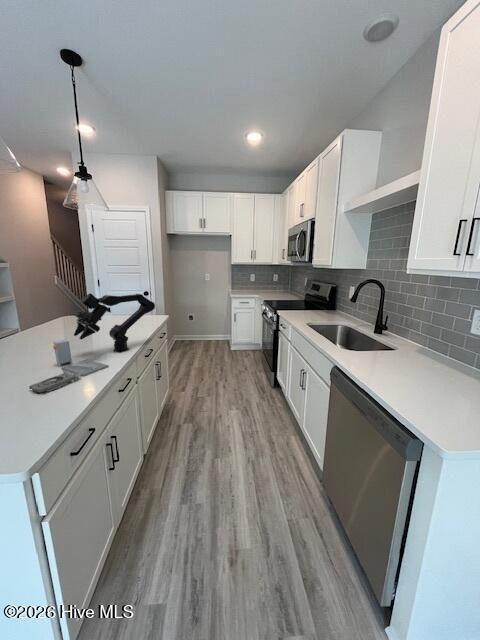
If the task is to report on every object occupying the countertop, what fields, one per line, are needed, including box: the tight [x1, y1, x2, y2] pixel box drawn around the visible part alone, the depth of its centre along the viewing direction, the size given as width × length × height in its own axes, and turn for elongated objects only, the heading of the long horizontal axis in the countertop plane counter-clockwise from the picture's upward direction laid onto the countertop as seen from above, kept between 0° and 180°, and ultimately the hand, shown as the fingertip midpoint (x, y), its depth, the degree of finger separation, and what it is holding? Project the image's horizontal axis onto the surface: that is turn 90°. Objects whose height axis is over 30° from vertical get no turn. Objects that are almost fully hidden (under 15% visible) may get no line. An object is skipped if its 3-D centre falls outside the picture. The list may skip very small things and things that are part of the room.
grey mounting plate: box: [60, 358, 109, 378], centre depth 131 cm, size 13×18×2 cm
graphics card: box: [28, 370, 82, 393], centre depth 113 cm, size 17×4×12 cm
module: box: [52, 338, 73, 368], centre depth 134 cm, size 6×5×12 cm
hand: (77, 337), depth 138 cm, fingers open, 9 cm apart
